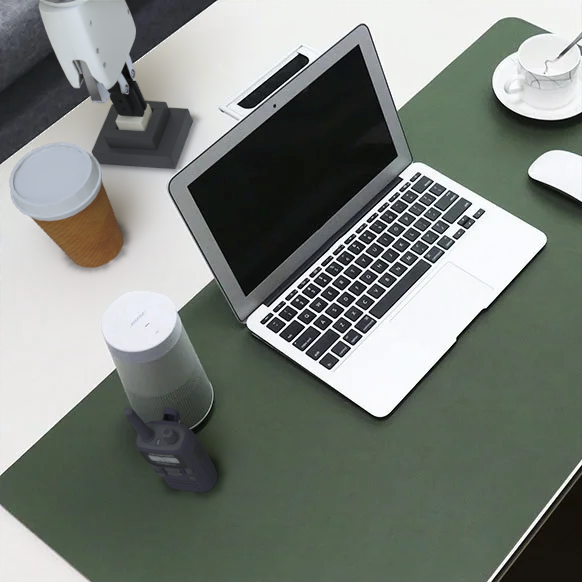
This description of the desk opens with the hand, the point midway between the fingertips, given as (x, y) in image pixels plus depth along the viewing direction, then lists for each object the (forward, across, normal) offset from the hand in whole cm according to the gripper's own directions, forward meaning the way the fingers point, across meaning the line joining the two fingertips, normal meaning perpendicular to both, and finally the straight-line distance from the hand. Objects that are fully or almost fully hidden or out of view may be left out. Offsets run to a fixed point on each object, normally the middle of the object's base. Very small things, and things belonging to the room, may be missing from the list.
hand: (133, 111), depth 99 cm
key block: (+5, 0, 0) cm, 5 cm away
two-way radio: (+5, +42, +18) cm, 46 cm away
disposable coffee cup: (+5, +16, -1) cm, 17 cm away
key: (+2, 0, 0) cm, 2 cm away
